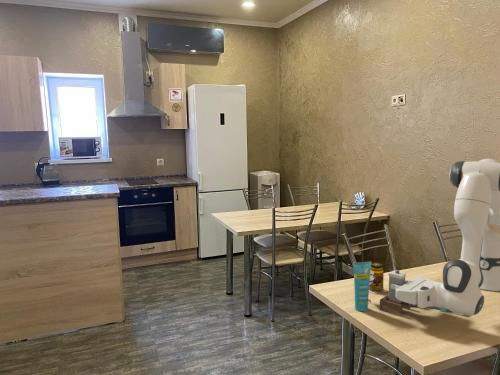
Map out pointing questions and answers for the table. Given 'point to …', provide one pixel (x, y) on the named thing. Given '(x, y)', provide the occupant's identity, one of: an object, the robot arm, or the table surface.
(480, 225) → the robot arm
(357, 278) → the tube
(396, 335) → the table surface
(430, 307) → the cable
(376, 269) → the condiment
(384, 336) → the table surface
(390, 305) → the holder
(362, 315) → the table surface
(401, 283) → the grey block with knob
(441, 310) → the clip
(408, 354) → the table surface
